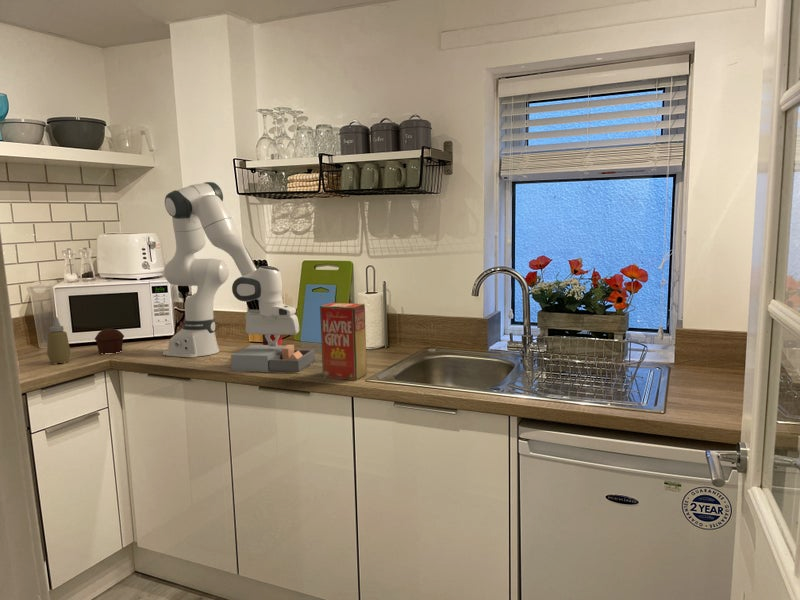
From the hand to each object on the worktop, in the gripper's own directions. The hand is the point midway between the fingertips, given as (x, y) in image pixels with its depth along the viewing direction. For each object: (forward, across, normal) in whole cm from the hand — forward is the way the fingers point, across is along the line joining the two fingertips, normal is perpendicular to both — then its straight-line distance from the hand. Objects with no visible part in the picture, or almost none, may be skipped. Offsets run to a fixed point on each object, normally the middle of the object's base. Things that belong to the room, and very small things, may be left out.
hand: (273, 346), depth 231 cm
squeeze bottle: (+7, -86, -7) cm, 87 cm away
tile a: (+2, +9, -7) cm, 12 cm away
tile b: (+3, +4, 0) cm, 6 cm away
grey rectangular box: (+7, -4, -2) cm, 9 cm away
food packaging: (+8, +32, -13) cm, 35 cm away
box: (+7, +9, -2) cm, 11 cm away
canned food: (+7, -11, +24) cm, 28 cm away
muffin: (+7, -79, +13) cm, 80 cm away
